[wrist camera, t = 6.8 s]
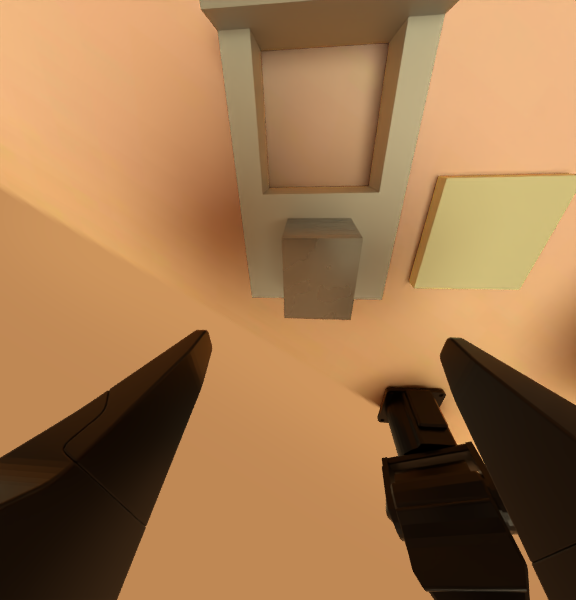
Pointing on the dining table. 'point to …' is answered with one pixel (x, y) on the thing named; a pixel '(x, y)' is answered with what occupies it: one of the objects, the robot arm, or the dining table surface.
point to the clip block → (320, 267)
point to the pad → (488, 229)
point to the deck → (389, 136)
